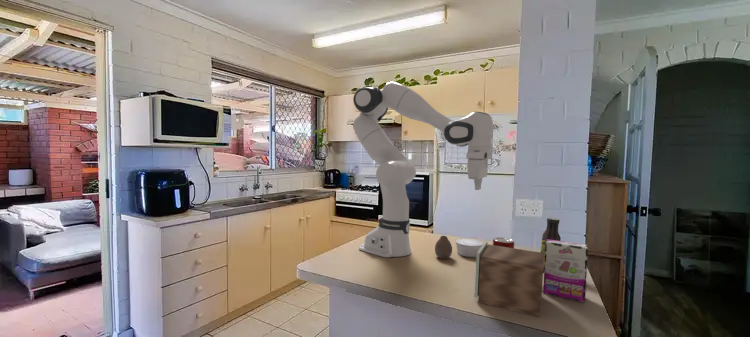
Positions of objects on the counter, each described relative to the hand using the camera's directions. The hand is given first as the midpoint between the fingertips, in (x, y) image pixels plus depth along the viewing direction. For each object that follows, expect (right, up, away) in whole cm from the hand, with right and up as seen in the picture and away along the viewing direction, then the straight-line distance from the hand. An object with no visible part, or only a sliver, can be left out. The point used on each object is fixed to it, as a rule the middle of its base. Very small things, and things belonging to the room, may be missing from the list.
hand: (477, 189), depth 125 cm
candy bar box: (+18, -31, -26) cm, 44 cm away
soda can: (+6, -30, -8) cm, 32 cm away
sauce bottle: (+25, -30, -6) cm, 39 cm away
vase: (-12, -28, +6) cm, 32 cm away
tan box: (0, -31, -30) cm, 43 cm away
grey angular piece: (-1, -29, -29) cm, 41 cm away
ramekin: (0, -29, +12) cm, 31 cm away
